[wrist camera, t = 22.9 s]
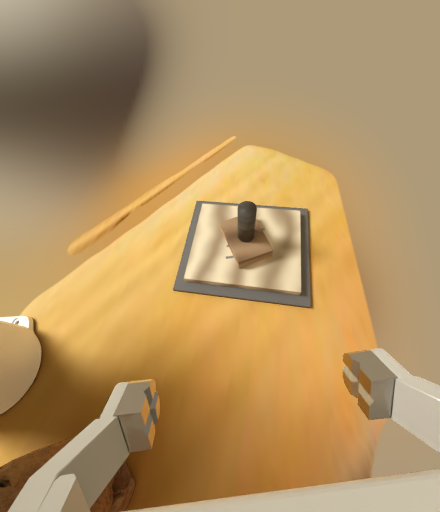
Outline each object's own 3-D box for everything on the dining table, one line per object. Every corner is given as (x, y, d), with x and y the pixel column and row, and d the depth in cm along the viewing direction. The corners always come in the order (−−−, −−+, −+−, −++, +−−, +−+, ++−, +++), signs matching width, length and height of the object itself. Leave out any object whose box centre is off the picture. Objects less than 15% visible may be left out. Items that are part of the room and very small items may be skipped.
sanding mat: (173, 290, 46) (173, 289, 45) (197, 202, 57) (196, 200, 56) (309, 307, 42) (310, 307, 42) (307, 210, 53) (307, 208, 53)
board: (185, 281, 46) (183, 278, 45) (203, 207, 55) (202, 203, 54) (299, 295, 43) (301, 292, 42) (298, 215, 52) (300, 210, 51)
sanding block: (271, 256, 46) (280, 224, 36) (238, 268, 45) (238, 238, 36) (251, 219, 50) (254, 182, 41) (221, 229, 50) (217, 194, 40)
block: (59, 475, 33) (-139, 577, 16) (98, 423, 36) (-33, 459, 19) (110, 540, 30) (-71, 761, 12) (149, 476, 33) (46, 583, 15)
